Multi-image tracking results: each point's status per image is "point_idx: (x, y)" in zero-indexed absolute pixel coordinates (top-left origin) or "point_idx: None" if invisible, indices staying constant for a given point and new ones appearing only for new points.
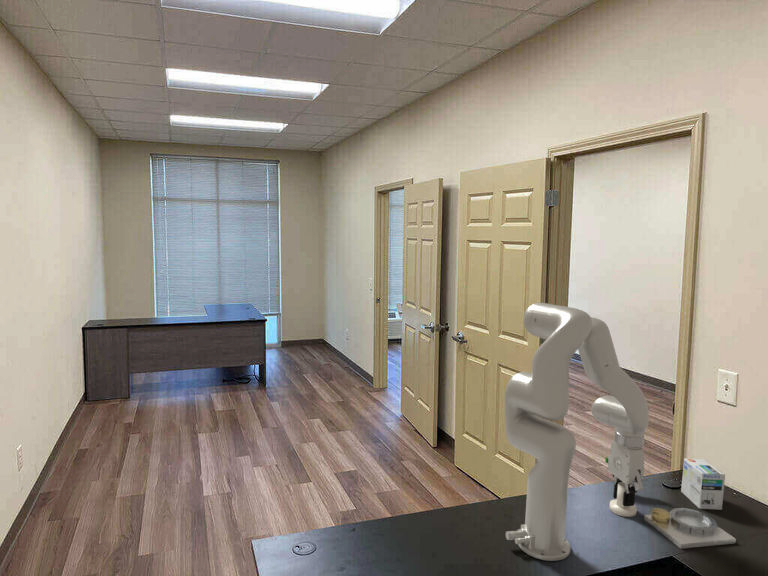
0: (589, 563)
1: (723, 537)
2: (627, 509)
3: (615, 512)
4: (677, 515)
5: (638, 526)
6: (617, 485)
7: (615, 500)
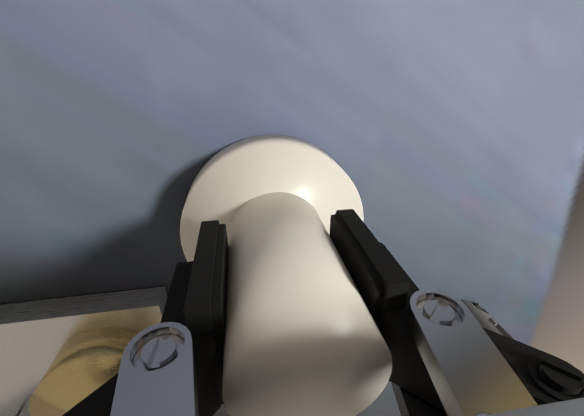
0: None
1: None
2: None
3: (233, 146)
4: None
5: (59, 214)
6: (382, 305)
7: None
